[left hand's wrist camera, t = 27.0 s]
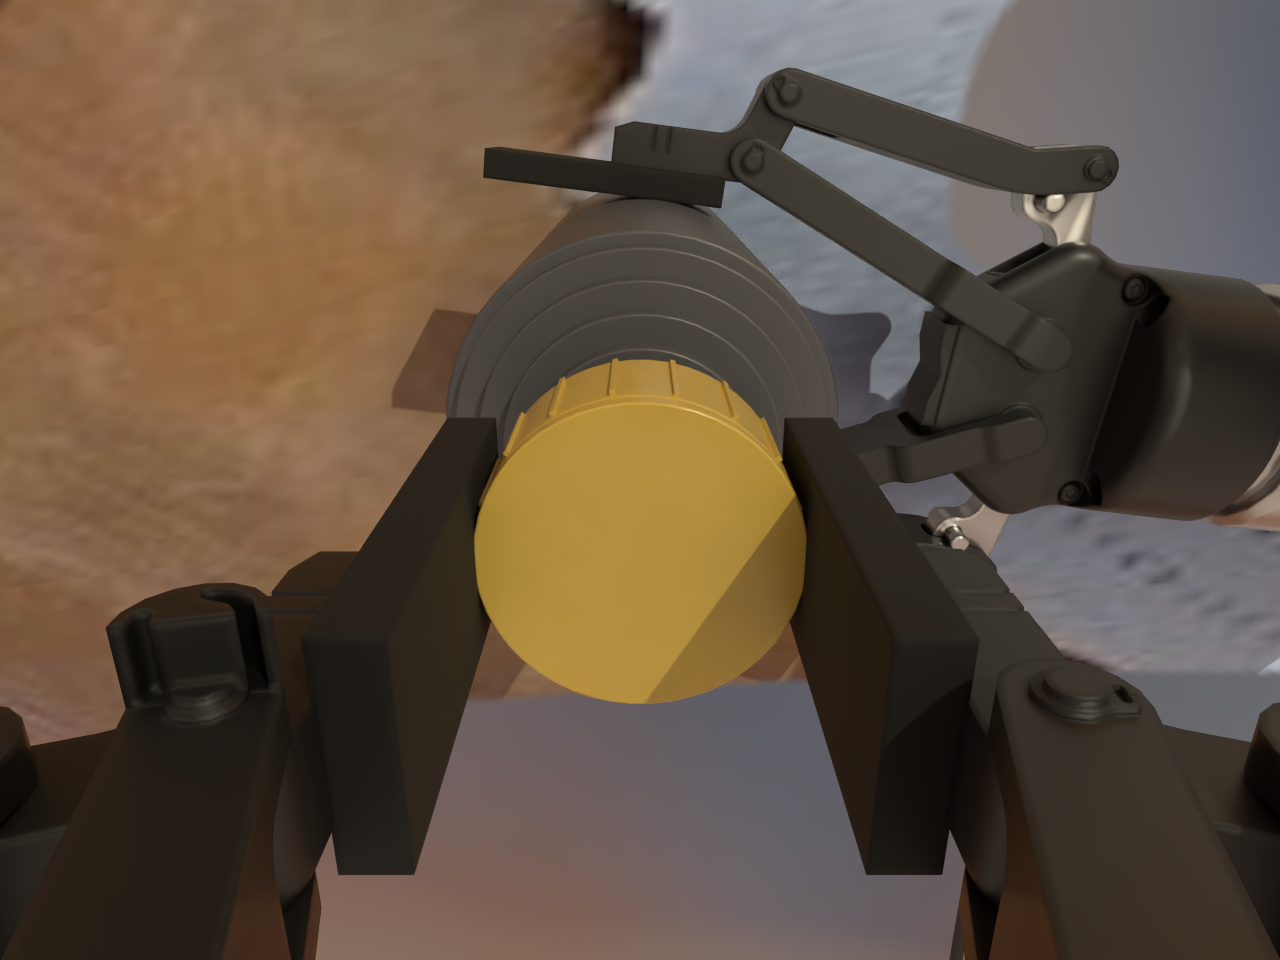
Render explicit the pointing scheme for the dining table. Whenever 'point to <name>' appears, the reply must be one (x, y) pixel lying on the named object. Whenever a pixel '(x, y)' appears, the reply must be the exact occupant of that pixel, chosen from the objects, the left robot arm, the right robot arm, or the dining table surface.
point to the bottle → (641, 316)
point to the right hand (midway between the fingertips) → (483, 313)
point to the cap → (640, 534)
